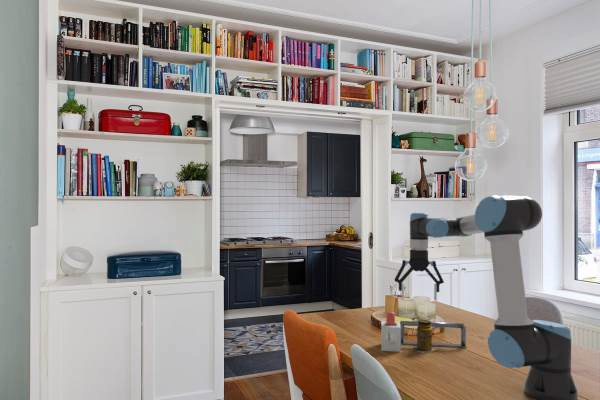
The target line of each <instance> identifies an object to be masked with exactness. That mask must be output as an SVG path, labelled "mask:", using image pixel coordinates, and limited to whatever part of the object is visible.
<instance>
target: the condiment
mask: <svg viewBox="0 0 600 400" xmlns="http://www.w3.org/2000/svg"><path fill="white" fill-rule="evenodd" d="M431 322H432V321H430V320H428V319H419V320H418V326H416V328H417V330H416V332H417V333H416V334H417V335H416V339H417V340H416V342H417V345H416V346H414V347H410V348H409V349H410V350H412V351H414V352H415V351H416V352H418V353H420V354H425V353H429V352H433V351H436V350H437V349H435V348H433V346H432V343H433V329H432V328H433V327H431Z"/></svg>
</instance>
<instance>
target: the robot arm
mask: <svg viewBox="0 0 600 400" xmlns="http://www.w3.org/2000/svg"><path fill="white" fill-rule="evenodd" d="M409 217H410V218H409V248H410V250H409V259H408V260H406V259H403V260H402V262H401V266H400V268H399V270H398V272H397V273H396V276H395V277H394V282H396V283H398V291H399V292H401V296H400V297H401V300H404V284H405V283H404V281H405V280H406V279H407V278H408V276H409V275H410V274H411V273H412V272H413V271H414V272H425V273H427V275H428V276H429V277H430V278H431V279H432V280H433V282H434V283H433V292H434V293H433V298H434V301H437V293H440V285H442V284H444V283H445V281H444V279H443V277H442V275H441V273H440V271H439V269H438V267H437V263H436V261H435V260H432V261H431V260H430V261H429V250H428V249H429V237H430V238H443V237H447V238H448V237H449V238H450V237H470V236H472V235H476V234H482V233H484V239H485V240H486V241H488V242H489V243H490V252H491V262H492V270H493V281H494V289H495V298H496V306H497V307H496V308H497V315H498V317H497V319H496V320H495V321H493V326H494V327H493V328H494V329H493V330H492V331H491V332H490V333H489V335H488V336H487V345H488V349H489V350H488V351H489V352H490V355H491V356H492V357H493V359H494V360H495V361H496V362H497V363H498V364H499V365H500V366H502V367H503V368H507V369H512V368H515V369H520V368H523V367H530V368H529V371H528V373H527V376H526V379H525V382H524V392H525V394H527V395H528V396H530V397H532V398H534V399H537V400H578V389H577V386H576V383H575V381H574V378H573V375H572V334H571V329H570V328H569V327H568V326H566V325H565V324H561V323H558V322H554V321H548V320H541V319H531V318H529V317H528V309H527V300H526V292H525V291H526V290H525V284H524V276H523V268H522V256H521V251H520V241H521V239H522V238H523V236H524V231H529V230H532V229H534V228H536V227H537V226H538V225H539V224H540V223H541V220H542V218H543V210H542V207H541V205H540V203H539V202H538V201H536V200H535V199H533V198H531V197H529V196H525V195H500V194H499V195H489V196H486V197H484V198H482V199H481V200H480V201H479V203H478V205H477V206H476V209H475V213H474V214H471V215H466V216H461V217H456V218H455V217H453V218H452V217H451V218H449V217H447V218H445V217H444V218H443V217H442V218H440V217H439V218H437V217H435V218H433V217H432V218H431V217H429V214H428V212H427V213H426V212H412V213H410V216H409ZM407 265H409V266H410V267H409V268H408V269H407V271H406V272H405V273H404V274H403V275H402V273H403V271H404V269H405V268H406V266H407ZM429 265H430V266H431V267H433V270H434V271H435V273H436V276H437V277H438V279H439V280H438V279H437V278H436V277H435V276H434V274H433V272H431V271H430V269H429V268H428V267H429ZM401 275H402V276H401Z"/></svg>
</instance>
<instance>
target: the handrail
mask: <svg viewBox="0 0 600 400" xmlns="http://www.w3.org/2000/svg"><path fill="white" fill-rule="evenodd" d="M418 321H419V320H418ZM418 321H416V320H415V321H413V320H400V321H399V322H400V326H401V345H404V346H417V341H405V326H408V327H418ZM430 322H431V328H452V329H460V343H445V342H444V343H443V342H432V347H440V348H441V347H443V348H444V347H446V348H463V349H467V326H466V325H464V323H462V322H461V323H460V322H458V323H457V322H440V321H439V322H438V321H430Z"/></svg>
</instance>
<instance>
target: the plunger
mask: <svg viewBox="0 0 600 400" xmlns="http://www.w3.org/2000/svg"><path fill="white" fill-rule="evenodd" d="M385 321H386V326H395V322H396V311H395V312H394V311H387V312H386V320H385Z"/></svg>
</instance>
